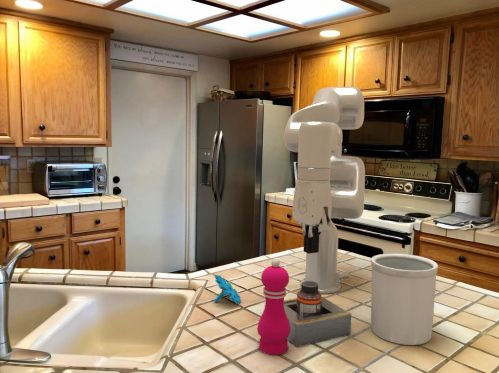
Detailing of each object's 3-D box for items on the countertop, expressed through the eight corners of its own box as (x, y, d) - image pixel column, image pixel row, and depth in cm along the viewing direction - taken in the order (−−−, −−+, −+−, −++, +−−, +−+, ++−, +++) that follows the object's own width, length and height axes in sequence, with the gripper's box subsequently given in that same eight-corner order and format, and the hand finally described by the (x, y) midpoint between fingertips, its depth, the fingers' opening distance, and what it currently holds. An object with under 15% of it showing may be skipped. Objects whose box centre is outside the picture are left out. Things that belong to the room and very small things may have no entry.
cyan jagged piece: (241, 304, 111) (216, 276, 112) (225, 319, 111) (200, 292, 112) (244, 294, 122) (221, 269, 123) (229, 308, 122) (206, 283, 123)
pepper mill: (255, 340, 95) (257, 254, 93) (286, 339, 95) (289, 254, 93) (258, 356, 88) (260, 264, 85) (292, 355, 88) (295, 264, 86)
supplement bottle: (299, 321, 105) (300, 278, 104) (322, 325, 103) (324, 281, 102) (293, 331, 99) (295, 285, 98) (318, 335, 98) (320, 289, 96)
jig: (318, 313, 110) (319, 294, 109) (350, 334, 98) (351, 313, 98) (268, 323, 104) (269, 302, 103) (296, 347, 92) (296, 324, 91)
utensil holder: (355, 324, 104) (358, 255, 102) (401, 315, 110) (405, 250, 108) (397, 352, 91) (402, 274, 89) (447, 340, 97) (453, 266, 95)
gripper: (283, 173, 102) (281, 246, 104) (318, 178, 88) (315, 262, 91) (309, 172, 105) (307, 243, 107) (347, 177, 92) (343, 259, 94)
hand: (311, 252), depth 99 cm, fingers closed
